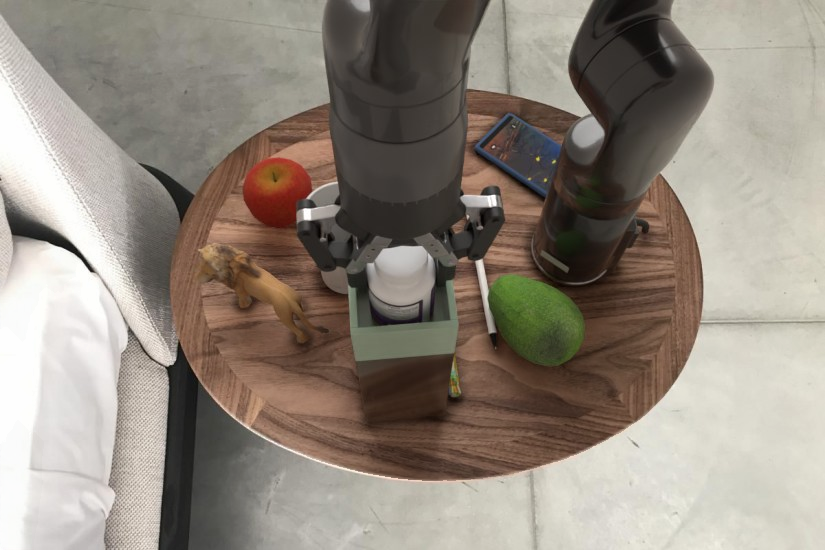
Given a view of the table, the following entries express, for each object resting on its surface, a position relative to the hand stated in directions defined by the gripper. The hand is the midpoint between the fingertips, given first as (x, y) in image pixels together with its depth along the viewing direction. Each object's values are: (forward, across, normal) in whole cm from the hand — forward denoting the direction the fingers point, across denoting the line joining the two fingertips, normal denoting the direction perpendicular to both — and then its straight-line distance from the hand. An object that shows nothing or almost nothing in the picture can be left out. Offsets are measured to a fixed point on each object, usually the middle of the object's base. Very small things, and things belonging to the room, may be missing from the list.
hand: (401, 279), depth 56 cm
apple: (+24, -13, +23) cm, 35 cm away
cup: (+24, -5, +14) cm, 28 cm away
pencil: (+24, +5, +7) cm, 26 cm away
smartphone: (+24, +14, +32) cm, 42 cm away
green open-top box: (+24, 0, 0) cm, 24 cm away
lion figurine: (+24, -15, +10) cm, 30 cm away
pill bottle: (+6, 0, 0) cm, 6 cm away
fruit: (+18, +18, 0) cm, 26 cm away
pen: (+24, +10, +12) cm, 29 cm away
